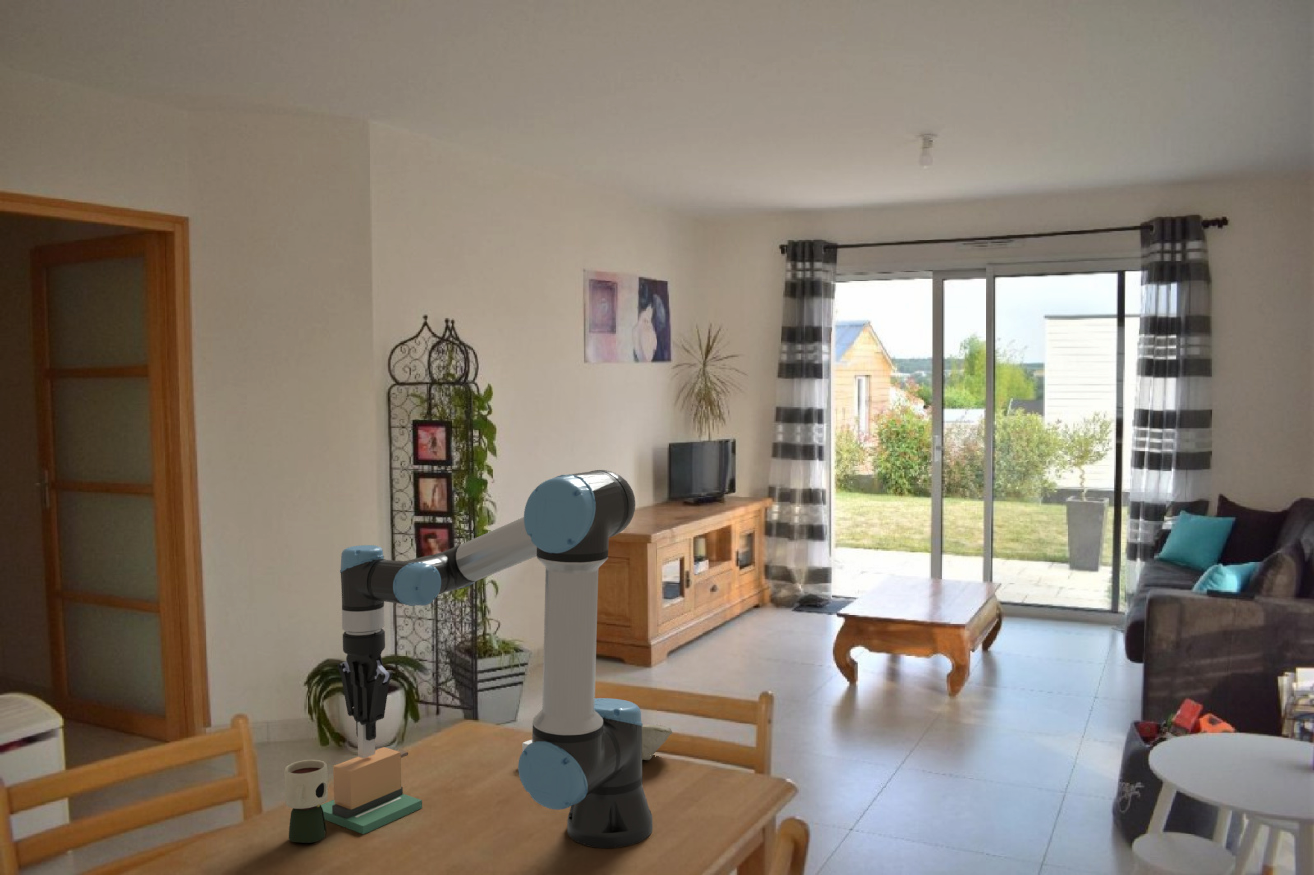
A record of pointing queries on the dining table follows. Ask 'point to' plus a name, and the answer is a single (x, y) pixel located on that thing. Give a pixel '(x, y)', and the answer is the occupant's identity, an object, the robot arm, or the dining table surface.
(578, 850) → the dining table surface
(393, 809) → the board
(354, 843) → the dining table surface
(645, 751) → the bowl
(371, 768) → the block
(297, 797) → the character mug
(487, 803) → the dining table surface
